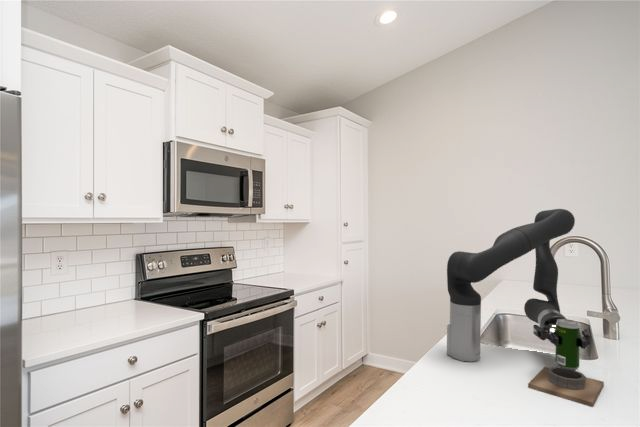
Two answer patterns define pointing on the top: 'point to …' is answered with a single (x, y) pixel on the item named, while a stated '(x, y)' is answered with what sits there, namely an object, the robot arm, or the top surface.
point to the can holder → (567, 385)
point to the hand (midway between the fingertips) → (570, 343)
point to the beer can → (568, 344)
